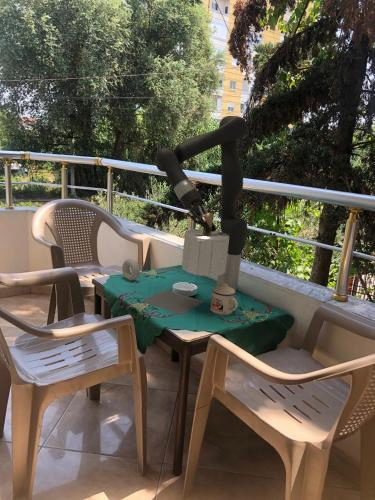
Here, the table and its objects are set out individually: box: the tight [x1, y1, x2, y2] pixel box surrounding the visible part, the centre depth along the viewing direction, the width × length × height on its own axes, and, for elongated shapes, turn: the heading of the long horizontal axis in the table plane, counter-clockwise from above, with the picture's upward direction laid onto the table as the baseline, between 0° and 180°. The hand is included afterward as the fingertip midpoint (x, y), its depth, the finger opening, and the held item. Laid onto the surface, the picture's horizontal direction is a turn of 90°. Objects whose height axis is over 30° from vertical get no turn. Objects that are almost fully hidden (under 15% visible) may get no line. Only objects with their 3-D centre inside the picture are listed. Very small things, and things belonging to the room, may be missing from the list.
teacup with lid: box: [210, 283, 239, 316], centre depth 158 cm, size 12×9×12 cm
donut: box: [121, 258, 140, 282], centre depth 184 cm, size 10×4×10 cm, turn 48°
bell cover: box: [181, 212, 229, 277], centre depth 155 cm, size 17×17×22 cm
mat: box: [140, 289, 205, 315], centre depth 164 cm, size 18×19×1 cm
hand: (212, 231), depth 153 cm, fingers closed on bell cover, 3 cm apart
